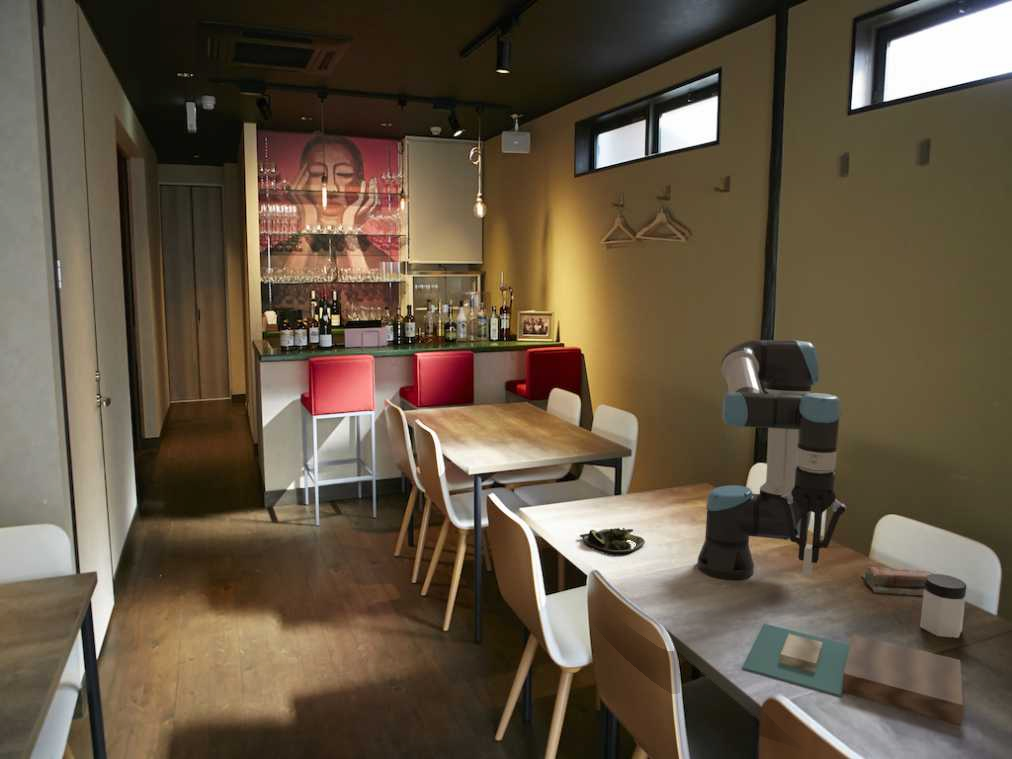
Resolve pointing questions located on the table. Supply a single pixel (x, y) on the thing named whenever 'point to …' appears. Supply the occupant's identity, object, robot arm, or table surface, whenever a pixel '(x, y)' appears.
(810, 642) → the maple tile
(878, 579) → the packaged product
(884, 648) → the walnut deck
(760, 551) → the table surface
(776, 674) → the teal mat
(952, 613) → the jar
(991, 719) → the table surface
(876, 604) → the table surface
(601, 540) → the salad plate
